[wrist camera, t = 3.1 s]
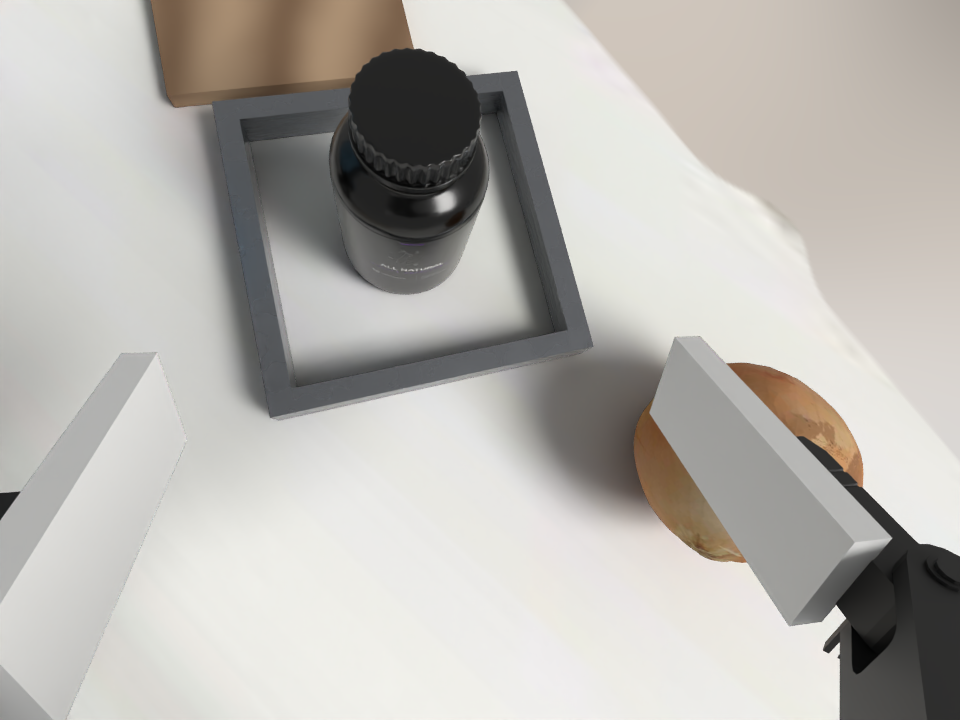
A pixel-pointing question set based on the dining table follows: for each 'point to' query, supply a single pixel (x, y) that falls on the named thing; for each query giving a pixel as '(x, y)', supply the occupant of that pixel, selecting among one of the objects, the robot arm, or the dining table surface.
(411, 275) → the supplement bottle
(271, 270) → the metal rim
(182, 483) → the dining table surface
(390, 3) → the walnut board
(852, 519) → the robot arm
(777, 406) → the onion
